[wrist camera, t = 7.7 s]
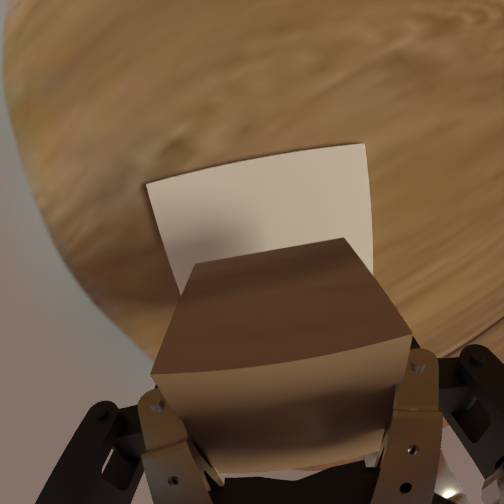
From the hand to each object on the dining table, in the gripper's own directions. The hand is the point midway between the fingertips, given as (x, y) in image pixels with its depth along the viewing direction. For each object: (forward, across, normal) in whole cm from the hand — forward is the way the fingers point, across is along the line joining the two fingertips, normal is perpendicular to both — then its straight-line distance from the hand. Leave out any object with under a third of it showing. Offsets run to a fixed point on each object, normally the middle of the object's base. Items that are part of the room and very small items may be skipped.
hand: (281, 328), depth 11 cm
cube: (+1, 0, 0) cm, 1 cm away
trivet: (+6, 0, 0) cm, 6 cm away
